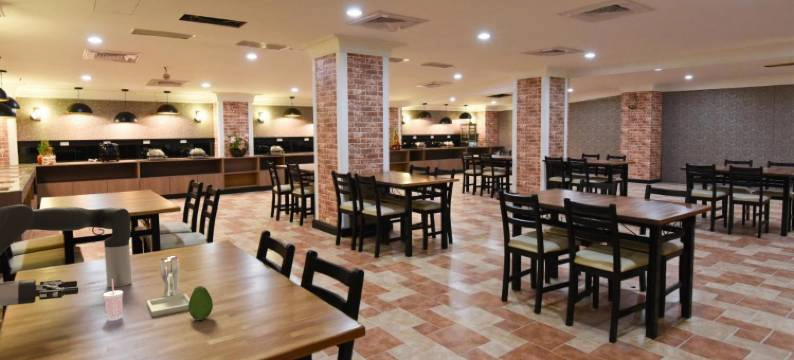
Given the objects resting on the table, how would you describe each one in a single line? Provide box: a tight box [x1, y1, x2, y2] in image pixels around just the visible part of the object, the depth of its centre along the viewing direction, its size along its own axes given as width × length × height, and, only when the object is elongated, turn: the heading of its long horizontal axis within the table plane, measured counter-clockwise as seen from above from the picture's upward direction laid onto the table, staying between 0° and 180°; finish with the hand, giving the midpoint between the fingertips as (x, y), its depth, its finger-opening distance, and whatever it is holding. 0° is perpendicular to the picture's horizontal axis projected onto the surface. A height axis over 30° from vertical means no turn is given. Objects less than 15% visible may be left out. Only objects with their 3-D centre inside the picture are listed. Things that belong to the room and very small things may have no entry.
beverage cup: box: [102, 279, 124, 321], centre depth 174 cm, size 6×6×14 cm
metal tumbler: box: [159, 255, 181, 298], centre depth 198 cm, size 7×7×15 cm
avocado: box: [187, 285, 214, 321], centre depth 172 cm, size 8×8×12 cm
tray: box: [145, 293, 191, 318], centre depth 184 cm, size 14×14×2 cm
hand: (77, 287), depth 167 cm, fingers open, 8 cm apart
